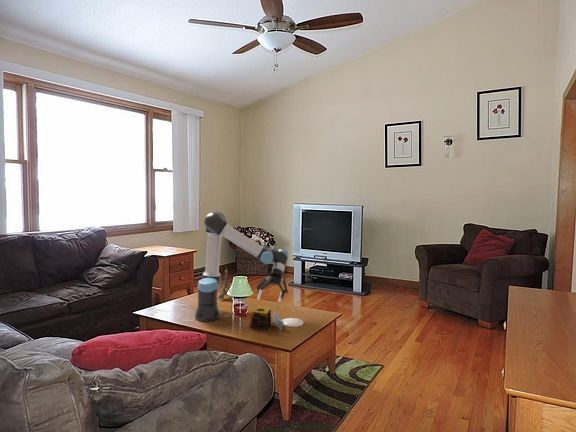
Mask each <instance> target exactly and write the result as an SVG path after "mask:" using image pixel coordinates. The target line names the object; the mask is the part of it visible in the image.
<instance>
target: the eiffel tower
mask: <svg viewBox="0 0 576 432" xmlns="http://www.w3.org/2000/svg"><path fill="white" fill-rule="evenodd" d="M227 269H228V268H227V264H226V268H225V270H224V273H225V275H224V282H223V284H222V290H221V293H220V294H219V295H218V296H217V300H218V299H219V300H218V301H219V302H220V303H221V302H224V299H225V296H228V295H227V292H228V290H229V291H230V285H229V274H228V273H229V270H227ZM228 298H229V299H230V301H231V302H233V301H232V298H231V297H228Z"/></svg>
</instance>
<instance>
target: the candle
mask: <svg viewBox="0 0 576 432" xmlns="http://www.w3.org/2000/svg"><path fill="white" fill-rule="evenodd" d="M271 311H272V308H271V307H262V306H261V307H260V306H259V307H257V306H255V307H254V308H253V309H252V310H251V311H250V329H254V330H264V331H267V330H268V329H269V328H270V326H271V324H272V316H271V315H272V313H271Z"/></svg>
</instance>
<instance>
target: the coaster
mask: <svg viewBox="0 0 576 432" xmlns="http://www.w3.org/2000/svg"><path fill="white" fill-rule="evenodd" d="M281 320H282V321H283V327H288V328H297V327H302V326H303V325H304V323H305V322H304V320H302V319H300V318H297V317H296V318H295V317H287V318H284V319H281Z"/></svg>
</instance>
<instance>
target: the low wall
mask: <svg viewBox="0 0 576 432" xmlns="http://www.w3.org/2000/svg"><path fill="white" fill-rule="evenodd" d="M272 314H273V315H272V316H273V317H272V318H273V322H274V323H275V325H276V326H277V327H278V329H279V331H284V329H283V328H284V326H283V321H282V320H283V319H281V318H280V316H279V315H278V313H277V312H276V311H274V312H273V313H272Z"/></svg>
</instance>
